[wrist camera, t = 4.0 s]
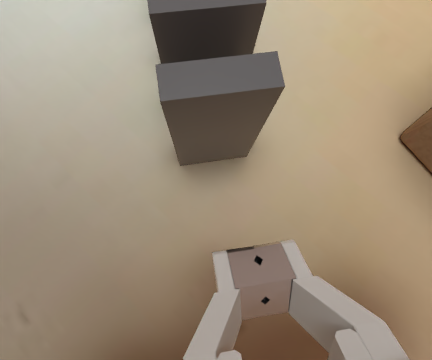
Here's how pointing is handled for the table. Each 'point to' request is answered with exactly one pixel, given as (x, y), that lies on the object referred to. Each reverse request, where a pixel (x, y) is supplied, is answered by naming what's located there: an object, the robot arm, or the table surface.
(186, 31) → the domino
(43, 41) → the table surface
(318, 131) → the table surface
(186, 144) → the domino
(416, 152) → the wooden block
